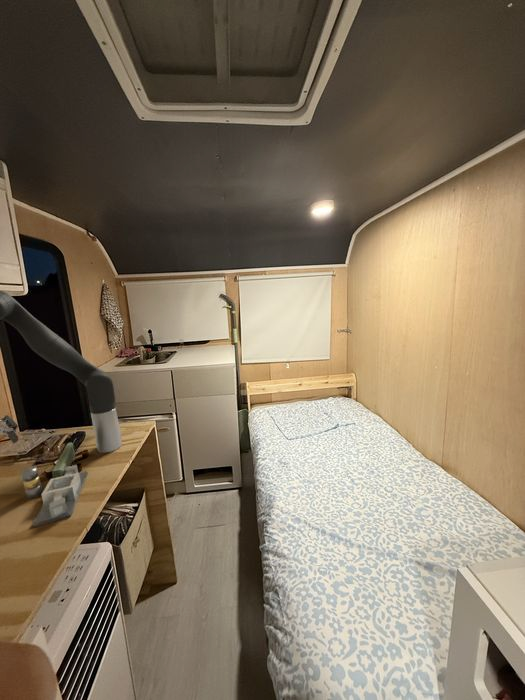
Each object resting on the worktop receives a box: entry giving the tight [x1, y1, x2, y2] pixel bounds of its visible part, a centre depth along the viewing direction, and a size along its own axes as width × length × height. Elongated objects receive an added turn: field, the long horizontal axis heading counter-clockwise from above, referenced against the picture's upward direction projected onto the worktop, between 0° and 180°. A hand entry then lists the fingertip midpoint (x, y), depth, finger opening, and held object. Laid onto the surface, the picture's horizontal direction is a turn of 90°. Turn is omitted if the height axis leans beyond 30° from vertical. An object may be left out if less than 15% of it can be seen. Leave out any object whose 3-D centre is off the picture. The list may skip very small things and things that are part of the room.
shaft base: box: [32, 464, 89, 528], centre depth 89 cm, size 22×9×5 cm, turn 21°
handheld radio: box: [51, 442, 78, 479], centre depth 106 cm, size 7×3×25 cm
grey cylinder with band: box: [20, 465, 44, 500], centre depth 91 cm, size 4×4×9 cm
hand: (1, 447), depth 93 cm, fingers open, 8 cm apart
